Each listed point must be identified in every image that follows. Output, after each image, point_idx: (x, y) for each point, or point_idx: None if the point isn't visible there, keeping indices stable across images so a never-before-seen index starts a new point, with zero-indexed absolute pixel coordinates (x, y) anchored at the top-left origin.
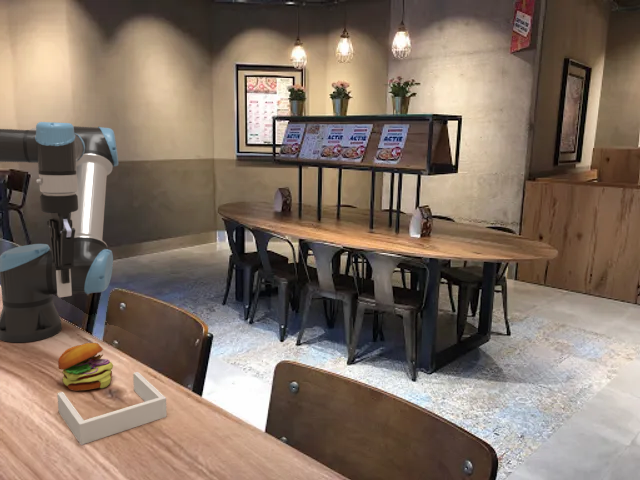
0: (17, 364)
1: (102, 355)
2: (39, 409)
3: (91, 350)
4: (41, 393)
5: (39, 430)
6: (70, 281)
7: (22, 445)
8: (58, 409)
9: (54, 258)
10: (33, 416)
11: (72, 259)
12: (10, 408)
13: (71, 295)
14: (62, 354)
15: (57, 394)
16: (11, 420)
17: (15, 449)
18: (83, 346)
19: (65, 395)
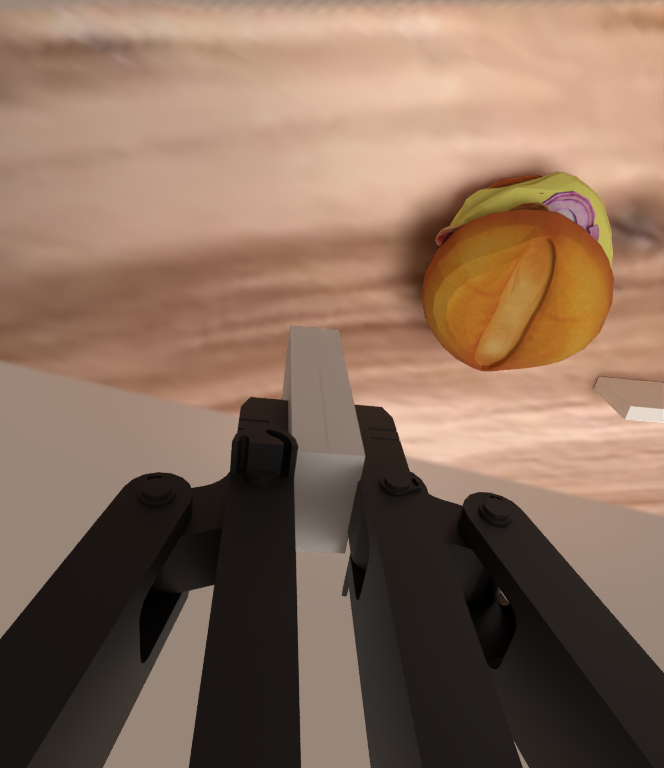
0: (194, 374)
1: (546, 210)
2: (539, 416)
3: (608, 298)
4: (458, 385)
5: (629, 445)
6: (350, 388)
7: (650, 484)
8: (598, 392)
9: (176, 609)
10: (559, 436)
11: (572, 586)
12: (475, 462)
13: (338, 333)
14: (470, 356)
15: (624, 417)
16: (533, 474)
17: (650, 496)
18: (584, 326)
19: (657, 408)
